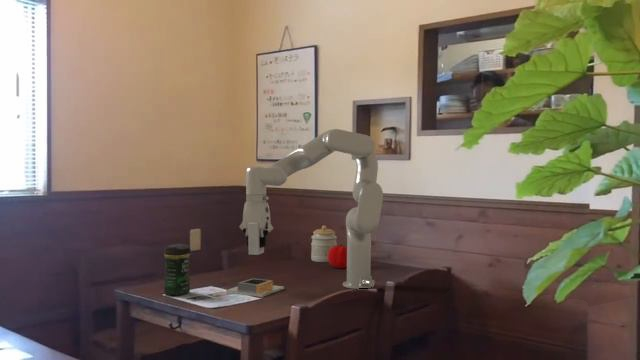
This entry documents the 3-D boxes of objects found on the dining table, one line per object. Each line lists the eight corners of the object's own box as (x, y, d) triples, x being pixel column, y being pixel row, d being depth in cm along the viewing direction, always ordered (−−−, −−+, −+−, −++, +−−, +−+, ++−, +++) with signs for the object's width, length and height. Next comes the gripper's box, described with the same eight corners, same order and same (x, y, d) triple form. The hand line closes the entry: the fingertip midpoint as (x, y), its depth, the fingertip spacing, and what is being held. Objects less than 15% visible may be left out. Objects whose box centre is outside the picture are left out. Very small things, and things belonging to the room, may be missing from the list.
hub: (283, 289, 238) (284, 280, 238) (262, 297, 223) (262, 287, 223) (248, 285, 245) (249, 276, 245) (226, 292, 230) (226, 283, 230)
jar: (308, 262, 301) (309, 226, 301) (313, 257, 314) (313, 223, 314) (334, 263, 299) (335, 227, 299) (338, 258, 312) (338, 224, 312)
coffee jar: (178, 297, 222) (178, 246, 221) (160, 295, 225) (160, 245, 224) (193, 292, 231) (193, 243, 230) (176, 290, 234) (176, 241, 233)
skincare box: (253, 252, 237) (254, 221, 237) (264, 252, 236) (264, 221, 236) (247, 254, 231) (247, 222, 231) (258, 255, 230) (258, 223, 230)
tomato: (331, 270, 280) (331, 245, 279) (325, 265, 291) (325, 242, 290) (356, 269, 282) (356, 245, 282) (349, 265, 294) (349, 242, 293)
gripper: (280, 199, 233) (280, 246, 233) (242, 197, 240) (242, 244, 241) (270, 200, 226) (270, 249, 227) (231, 198, 233) (232, 246, 234)
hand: (256, 246), depth 234 cm, fingers closed on skincare box, 4 cm apart
